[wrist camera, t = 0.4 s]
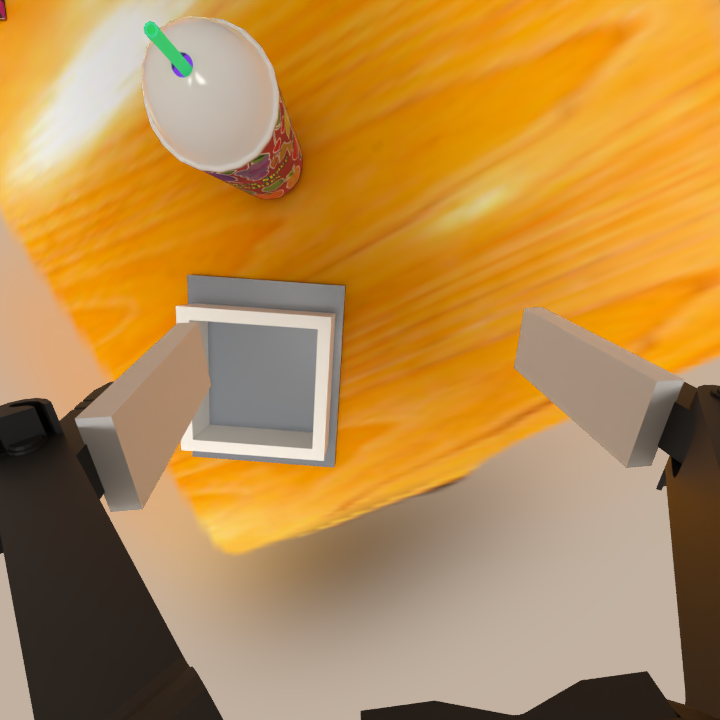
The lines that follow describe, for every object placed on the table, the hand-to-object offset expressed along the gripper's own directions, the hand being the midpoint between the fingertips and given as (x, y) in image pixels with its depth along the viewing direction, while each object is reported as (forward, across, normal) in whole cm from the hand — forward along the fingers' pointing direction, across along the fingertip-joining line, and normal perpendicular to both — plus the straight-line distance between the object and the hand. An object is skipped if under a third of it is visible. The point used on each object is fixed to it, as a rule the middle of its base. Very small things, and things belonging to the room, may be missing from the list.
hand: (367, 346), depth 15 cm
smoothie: (+28, -6, +8) cm, 29 cm away
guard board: (+23, -8, -12) cm, 28 cm away
